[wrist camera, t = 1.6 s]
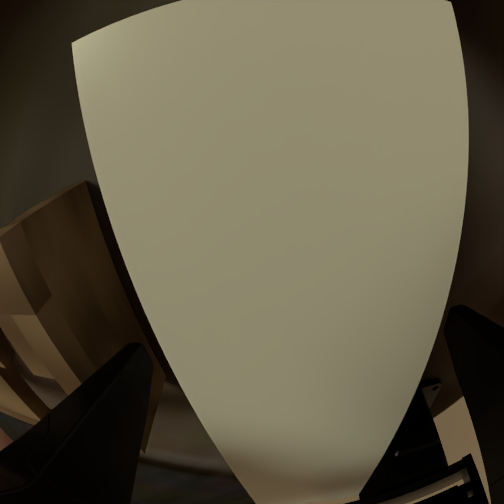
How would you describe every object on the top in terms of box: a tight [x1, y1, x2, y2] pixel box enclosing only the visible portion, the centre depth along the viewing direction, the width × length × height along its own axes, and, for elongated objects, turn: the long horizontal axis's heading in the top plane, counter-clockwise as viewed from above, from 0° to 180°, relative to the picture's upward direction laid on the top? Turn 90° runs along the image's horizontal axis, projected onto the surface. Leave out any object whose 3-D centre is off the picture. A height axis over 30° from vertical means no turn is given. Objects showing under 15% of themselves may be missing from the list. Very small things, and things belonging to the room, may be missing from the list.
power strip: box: [72, 0, 469, 504], centre depth 8 cm, size 4×14×7 cm, turn 9°
